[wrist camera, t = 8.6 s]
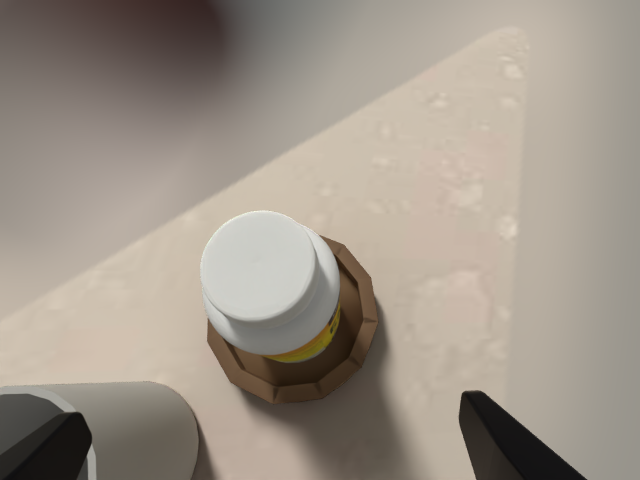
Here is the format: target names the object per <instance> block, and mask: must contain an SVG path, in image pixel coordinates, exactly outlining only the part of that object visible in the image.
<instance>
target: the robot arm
mask: <svg viewBox="0 0 640 480" xmlns="http://www.w3.org/2000/svg"><path fill="white" fill-rule="evenodd" d="M459 424H460V428H461V431H462V434H463V438H464V441H465V444H466V447H467V451H468V454H469V457H470V460H471V464H472V467H473V470H474V473H475V477H476V480H587V479H586V478H585V477H583V476H582V475H581V474H580V473H578V472H577V471H576V470H575V469H574V468H573V467H572V466H570V465H569V464H568V463H567V462H565V461H564V460H563V459H562V458H561V457H560V456H558V455H557V454H556V453H555V452H554V451H553V450H551V449H550V448H549V447H548V446H546V445H545V444H544V443H543V442H542V441H541V440H539V439H538V438H537V437H536V436H535V435H534V434H532V433H531V432H530V431H529V430H528V429H526V428H525V427H524V426H523V425H522V424H521V423H519V422H518V421H517V420H516V419H515V418H513V417H512V416H511V415H510V414H509V413H508V412H506V411H505V410H504V409H503V408H502V407H500V406H499V405H498V404H497V403H496V402H494V401H493V400H492V399H491V398H490V397H489V396H487V395H486V394H485V393H484V392H482V391H479V390H475V391H464V392H463V393H462V396H461V403H460V410H459ZM91 444H92V433H91V431H90V429H89V427H88V424H87V422H86V420H85V418H84V416H83V414H82V413H80V412H77V411H75V412H63V413H60V414H58V415H56V416H55V417H53V418H52V419H51V420H49V421H48V422H46V423H45V424H43V425H42V426H41V427H39V428H38V429H36V430H35V431H33V432H32V433H31V434H29V435H28V436H26V437H25V438H23V439H22V440H21V441H19V442H18V443H16V444H15V445H13V446H12V447H11V448H9V449H8V450H6V451H5V452H3V453H2V454H1V455H0V480H77V478H78V476H79V473H80V471H81V469H82V466H83V464H84V461H85V459H86V457H87V454H88V452H89V450H90V447H91Z"/></svg>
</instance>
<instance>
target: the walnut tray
mask: <svg viewBox="0 0 640 480" xmlns="http://www.w3.org/2000/svg"><path fill="white" fill-rule="evenodd" d="M319 236H320V235H319ZM320 237H321V238H322V239H323V240H324V241H325V242H326V243H327V245H328V246H329V248H330V249H331V251H332V253H333V255H334V257H335V260H336V262H337V266H338V270H339V275H340V320H339V326H338V329H337V332H336V334H335V336H334V338H333V340H332V342H331V343H330V344H329V346H328V347H327V348H326V349H325V350H324V351H323V352H321V353H320V354H319V355H317V356H316V357H314V358H312V359H310V360H307V361H304V362H299V363H284V362H280V361H276V360H273V359H270V358H267V357H263V356H260V355H256V354H253V353H249V352H246V351H244V350H241V349H239V348H237V347H235V346H234V345H232V344H230V343H229V342H228V341H226V340H225V339H224V338H223V337H222V336H221V335H220V334H219V333H218V332H217V331H216V330H215V328H214V327H213V325H212V324H211V322H210V320H209V318H208V333H207V341H208V344H209V346H210V347H211V349H212V351H213V353H214V354H215V356H216V358H217V360H218V361H219V363H220V365H221V367H222V368H223V370H224V372H225V374H226V375H227V377H228V379H229V381H230V382H231V383H233V384H235V385H237V386H239V387H241V388H243V389H244V390H246V391H248V392H250V393H252V394H254V395H256V396H258V397H260V398H262V399H264V400H266V401H268V402H270V403H272V404H280V403H288V402H302V401H308V400H315V399H322V398H324V397H325V396H326V395H328V394H329V393H330V392H332V391H334V390H335V389H336V388H338V387H339V386H341V385H342V384H344V383H345V382H346V381H347V380H348V379H349V378H350V377H351V376H352V375H353V374H354V373H355V372H356V371H358V370H359V369H360V368H361V367H362V365H363V362H364V359H365V357H366V354H367V352H368V350H369V348H370V345H371V342H372V338H373V335H374V333H375V330H376V327H377V325H378V316H377V310H376V304H375V298H374V292H373V286H372V281H371V277H370V276H369V274H368V273H367V272H366V271H365V270H364V268H363V267H362V266H361V265H360V264H359V262H358V261H357V260H356V259H355V257H354V256H353V255H352V254H351V253H350V251H349V250H348V249H347V248H346V246H345V245H343V244H341V243H338V242H336V241H333V240H331V239H328V238H325V237H323V236H320Z"/></svg>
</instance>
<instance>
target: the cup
mask: <svg viewBox="0 0 640 480" xmlns="http://www.w3.org/2000/svg"><path fill="white" fill-rule="evenodd" d="M75 411H77V412H80V413H82V414H83V416H84V418H85V420H86V422H87V424H88V427H89V429H90V431H91V433H92V444H91V447H90V450H89V452H88V454H87V457H86V459H85V461H84V464H83V466H82V469H81V471H80V473H79V476H78V478H77V480H191V478H192V475H193V471H194V468H195V465H196V462H197V455H198V445H199V438H198V431H197V423H196V420H195V418H194V415H193V413H192V410H191V408H190V406H189V405H188V404H187V402H186V401H185V400H184V399H183V397H182V396H181V395H180V394H179V393H177V392H176V391H174V390H173V389H171V388H170V387H168V386H166V385H162V384H159V383H155V382H148V381H143V382H111V383H81V384H52V385H22V386H4V387H1V388H0V455H1V454H2V453H3V452H5V451H6V450H8V449H9V448H11V447H12V446H13V445H15V444H16V443H18V442H19V441H21V440H22V439H23V438H25V437H26V436H28V435H29V434H31V433H32V432H33V431H35V430H36V429H38V428H39V427H41V426H42V425H43V424H45V423H46V422H48V421H49V420H51V419H52V418H53V417H55V416H56V415H58V414H60V413H63V412H75Z"/></svg>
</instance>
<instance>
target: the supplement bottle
mask: <svg viewBox="0 0 640 480" xmlns="http://www.w3.org/2000/svg"><path fill="white" fill-rule="evenodd" d="M200 279H201V284H202V296H203V303H204V308H205V311H206V313H207V316H208V318H209V320H210V322H211V324H212V325H213V327H214V328H215V330H216V331H217V332H218V333H219V334H220V335H221V336H222V337H223V338H224V339H225V340H226V341H228V342H229V343H230V344H232V345H234V346H235V347H237V348H239V349H241V350H244V351H246V352H249V353H253V354H256V355H260V356H263V357H267V358H270V359H273V360H276V361H280V362H284V363H299V362H304V361H307V360H310V359H312V358H314V357H316V356H317V355H319V354H320V353H321V352H323V351H324V350H325V349H326V348H327V347H328V346H329V344H330V343H331V342H332V340H333V338H334V336H335V334H336V332H337V329H338V326H339V320H340V275H339V270H338V266H337V262H336V260H335V257H334V255H333V253H332V251H331V249H330V248H329V246H328V245H327V243H326V242H325V241H324V240H323V239H322V238H321V237H320V236H319V235H318V234H317V233H315V232H314V231H313V230H311V229H310V228H308V227H306V226H304V225H302V224H299V223H297V222H296V221H295V220H293V219H292V218H290V217H288V216H286V215H284V214H281V213H277V212H273V211H262V210H261V211H252V212H248V213H244V214H241V215H239V216H237V217H234V218H233V219H231V220H229V221H228V222H226V223H225V224H224V225H222V226H221V227H220V228H219V229H218V230H217V231H216V232H215V233H214V234H213V236H212V237H211V238H210V240H209V242H208V243H207V245H206V247H205V249H204V252H203V255H202V259H201V264H200Z"/></svg>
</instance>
